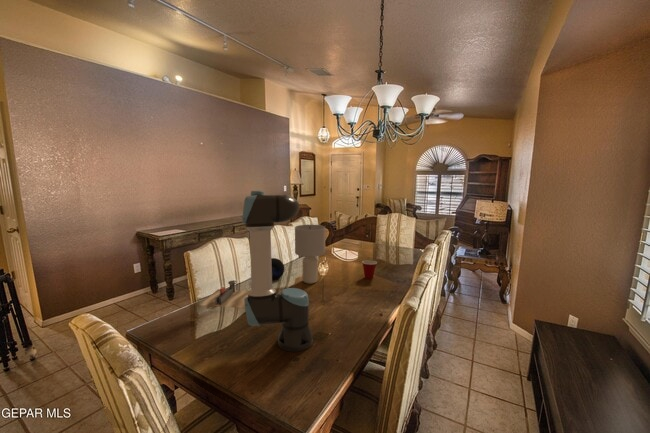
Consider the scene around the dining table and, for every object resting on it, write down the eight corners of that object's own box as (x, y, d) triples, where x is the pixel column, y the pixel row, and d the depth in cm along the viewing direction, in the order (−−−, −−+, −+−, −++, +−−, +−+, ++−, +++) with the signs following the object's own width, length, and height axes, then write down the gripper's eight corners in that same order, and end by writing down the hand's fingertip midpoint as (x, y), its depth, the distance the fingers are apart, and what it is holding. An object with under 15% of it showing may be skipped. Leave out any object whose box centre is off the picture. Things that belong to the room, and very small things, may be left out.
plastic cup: (376, 275, 206) (377, 260, 205) (376, 281, 196) (376, 264, 194) (362, 274, 209) (362, 258, 207) (360, 279, 199) (360, 263, 197)
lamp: (330, 283, 192) (331, 226, 186) (304, 289, 180) (304, 230, 175) (314, 274, 208) (314, 222, 203) (290, 279, 197) (289, 225, 191)
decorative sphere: (269, 285, 187) (269, 263, 185) (258, 278, 198) (258, 258, 196) (288, 279, 197) (288, 259, 195) (277, 274, 208) (276, 254, 206)
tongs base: (231, 291, 174) (231, 282, 173) (235, 291, 174) (235, 283, 173) (214, 304, 156) (214, 295, 155) (219, 305, 155) (218, 295, 155)
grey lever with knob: (230, 290, 175) (230, 280, 174) (238, 290, 175) (237, 280, 174) (214, 304, 156) (214, 293, 155) (222, 304, 155) (222, 293, 154)
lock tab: (222, 291, 164) (222, 287, 163) (225, 291, 163) (224, 287, 163) (219, 293, 161) (219, 289, 160) (222, 293, 160) (222, 289, 160)
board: (258, 293, 174) (258, 291, 174) (245, 309, 153) (245, 307, 153) (218, 291, 177) (217, 289, 177) (199, 307, 155) (199, 305, 155)
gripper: (256, 214, 174) (257, 251, 178) (247, 218, 162) (248, 257, 165) (267, 215, 173) (268, 252, 176) (259, 218, 160) (260, 258, 164)
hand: (258, 255), depth 171 cm, fingers closed
